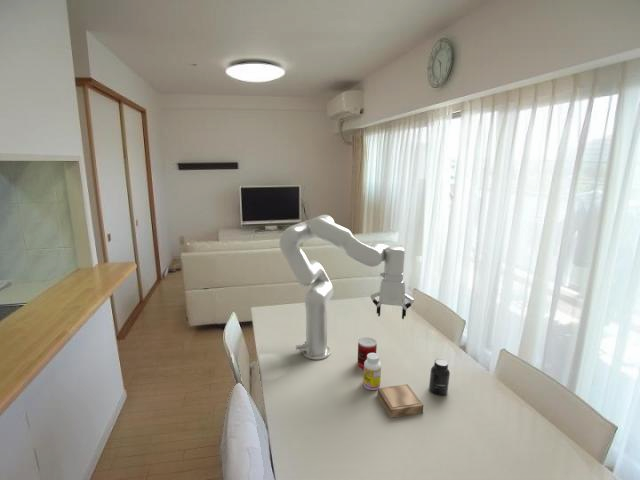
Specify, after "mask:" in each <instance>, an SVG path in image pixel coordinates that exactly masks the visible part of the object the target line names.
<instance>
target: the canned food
mask: <svg viewBox="0 0 640 480" xmlns="http://www.w3.org/2000/svg"><path fill="white" fill-rule="evenodd" d="M377 345H378V344H377V340H376V339H375V338H373V337H367V336H366V337H364V336H363V337H361V338H360V339H358V344H357V365H358V367H359V368H360V369H362V370H364V362H365V361H366V360H367V354H369V353H376V354H377V348H378V347H377Z"/></svg>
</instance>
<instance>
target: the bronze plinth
mask: <svg viewBox="0 0 640 480" xmlns="http://www.w3.org/2000/svg"><path fill="white" fill-rule="evenodd" d="M376 396H377V397H378V399H379V401H380V402H381V404H382V406H383V407H384V409H385V410H386V412H387V414H388V416H389V417H390V418H391V419H392V418H398V417H403V416H411V415H412V416H413V415H417V414H423V413H424V404H423V403H422V401H421V400H420V399H419V397H418V396H417V395H416V394H415V392H414V391H413V389H412V388H411V387H410V386H409V384H400V385H399V384H398V385H392V386H385V387H379V388H378V389H377V395H376Z"/></svg>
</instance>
